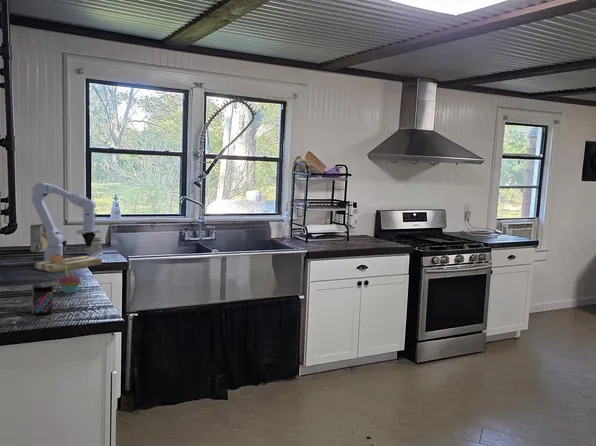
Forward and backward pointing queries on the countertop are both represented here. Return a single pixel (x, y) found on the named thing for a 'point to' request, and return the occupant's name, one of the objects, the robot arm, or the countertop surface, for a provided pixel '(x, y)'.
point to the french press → (93, 246)
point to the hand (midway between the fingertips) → (88, 246)
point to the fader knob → (56, 258)
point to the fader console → (68, 263)
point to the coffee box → (38, 238)
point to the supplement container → (42, 299)
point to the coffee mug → (64, 247)
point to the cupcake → (69, 282)
